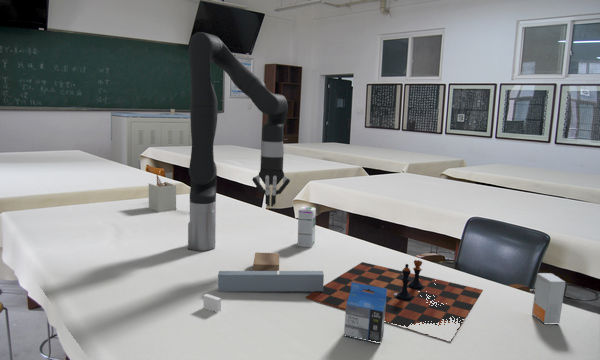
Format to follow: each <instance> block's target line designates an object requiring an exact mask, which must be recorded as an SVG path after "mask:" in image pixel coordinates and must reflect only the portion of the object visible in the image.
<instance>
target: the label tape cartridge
mask: <svg viewBox="0 0 600 360" xmlns="http://www.w3.org/2000/svg"><path fill="white" fill-rule="evenodd" d="M363 289H365V290H367V289H370V290H371V291H374V292H375V293H368V292H364V291H363ZM386 294H387V289H386V288H380V287H375V286H370V285H365V284H359V283H354V282H351V292H350V294H349V297H348V300H347V303H346V311H345V314H344V315H345V316H344V317H345V318H344V329H343V332H344V335H346V336H351V337H357V338H362V339H366V340H371V341H376V342H381V343H382V341H383V339H384V331H385V322H384V320H385V309H386ZM346 336H345V337H346ZM382 338H383V339H382ZM381 340H382V341H381Z"/></svg>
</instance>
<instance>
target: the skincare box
mask: <svg viewBox="0 0 600 360" xmlns="http://www.w3.org/2000/svg"><path fill="white" fill-rule="evenodd" d="M565 288H566V281H565V280H563V279H561V278H560V277H559V276H557V275H555V274H554V273H551V272H549V273H548V272H539V273H537V275H536V281H535V289H534V297H533V302H532V303H533V304H532V311H531V315H532V314H533V315H532V316H534V317H535V318H536V317H537V318H538V319H540V320H541V321H542V322H544V323H559V324H560V323H561V315H562V308H563V301H564V293H565ZM537 318H536V319H537ZM538 319H537V320H538ZM540 320H539V321H540ZM541 321H540V322H541ZM542 322H541V323H542Z"/></svg>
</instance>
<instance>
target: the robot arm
mask: <svg viewBox="0 0 600 360" xmlns="http://www.w3.org/2000/svg"><path fill="white" fill-rule="evenodd" d="M188 54H189V55H188V58H189V67H190V111H189V114H190V115H189V117H190V119H189V120H190V136H191V151H190V152H191V153H190V160H189V167H188V174H189V175H188V176H189V177H190V189H189V222H188V224H187V227H188V228H187V240H188V241H187V249H188V250H193V251H198V252H202V251H203V252H204V251H210V250H213V249H215V248H216V226H217V225H216V215H217V214H216V212H217V210H216V209H217V208H216V207H217V204H216V203H217V181H218V180H217V177H218V175H217V174H218V173H217V172H218V169H217V164H216V162H215V158H214V155H215V154H214V141H215V136H216V131H217V124H218V112H219V111H218V106H219V105H218V97H217V94H216V90H215V88H214V85H213V83H212V79H211V63H212V64H214V65H215V66H217V67H218V68H220V69H222V70H223V71H224V72H225V73H226V74H227V76H228V77H229V79H230V80H231V81H232V83H233V85H235V86H236V88H238V89H239V90H240V91H241V93H243V94H244V95H246V96H247V97H248V98H250V100H251V102H252V103H253V104H254V106H255V107H256V108H257V109H258V110H259V111H260V112H261V113H262V114H264V115H266V116H267V120H266V122H265V123H264V124H263V126H262V129H261V130H262V131H261V146H260V170H259V172H258V175H256V176H253V177H252V179H251V180H252V182H253V183H254V185H255V186H256V188H257V189H258V191H259V192H260V193H261V194H264V195H265V200H264V201H265V205H266V206H267V207H270V206H271V207H274V206H275V205H276V203H277V202H276V201H277V195H281V194H282V192H284V190H285V189H286V187H287V186H288V185H289V184H290V182H291V178H289V177H287V176H285V173H284V172H285V171H284V155H285V150H284V127H285V124H286V120H287V116H288V110H289V109H288V107H289V106H288V100H287V99H286V97H285V96H284V95H282V94H279V93H272V92H271V91H270V90H269V89H268V88H267V85H266V83H265V82H264V81H263V80H262V79H261V78H260V77H258V76H257V75H256V74H255V73H253V71H251V69H249V68H248V67H247V66H246V65H244V64H243V63H242V61H240V60H239V59H238V58H237V57H236V56H235V55H234V54H233V53H232V52H231V51H230V49H229V48H228V47H227V45H226V44H225V43H224V42H223V41H222V40H221V39H220V38H219V37H218V36H217V35H215V34H210V33H206V32H202V31H198V32H195V33H194V34H192V35H191V37H190V39H189V44H188ZM260 181H262V182H263V184H264V185H265V188H264V187H263V185H262V184H261V182H260ZM281 182H282V185H281V186H280V187H279V188H278V189H277V185H279V184H280V183H281ZM271 186H272V191H271V190H270V187H271Z"/></svg>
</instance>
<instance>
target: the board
mask: <svg viewBox="0 0 600 360" xmlns="http://www.w3.org/2000/svg"><path fill="white" fill-rule="evenodd" d="M324 276H325V275H324V271H323V270H279V271H253V270H219V271H218V274H217V291H218V292H226V293H227V292H234V293H235V292H314V291H323V286H324V285H325V284H324V281H325V279H324Z"/></svg>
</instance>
